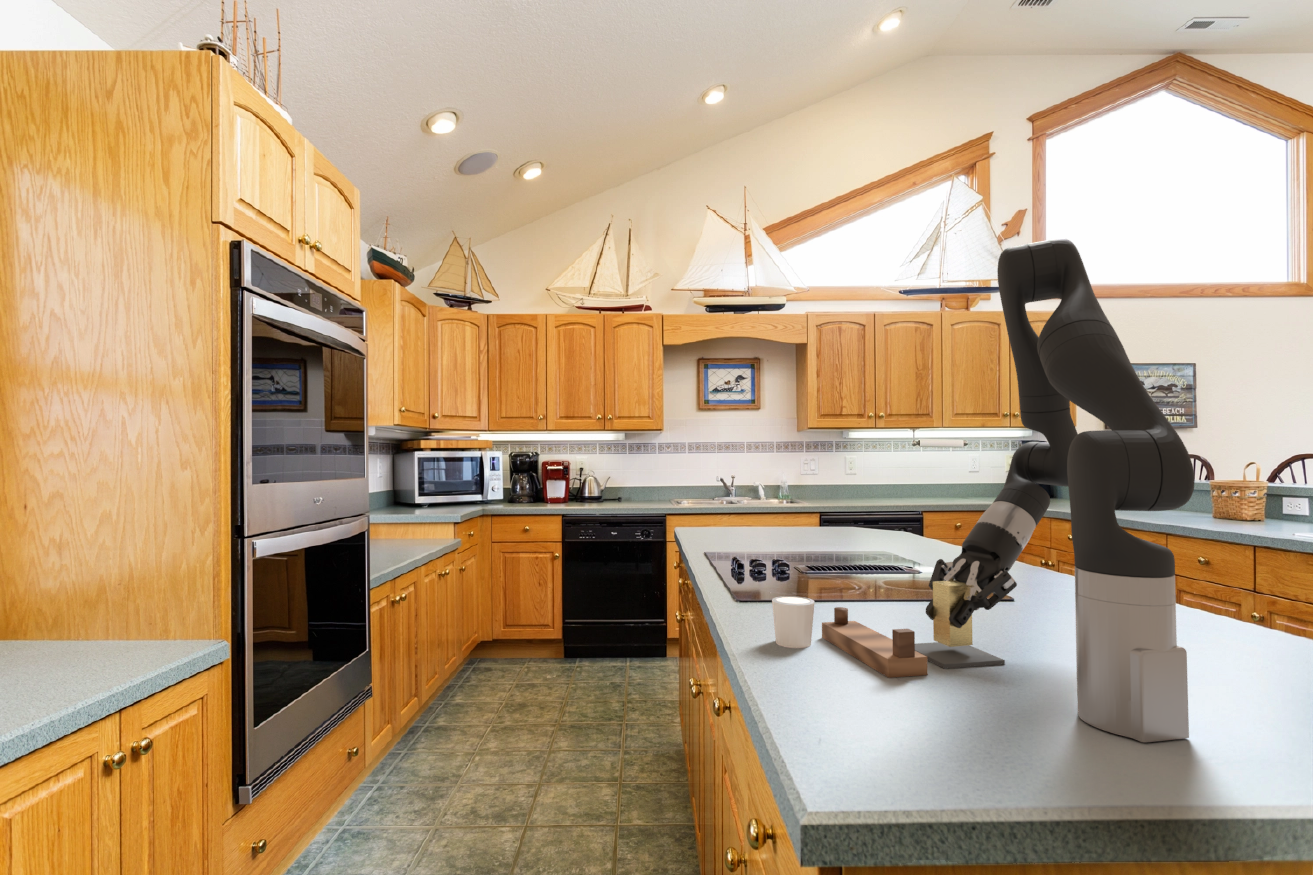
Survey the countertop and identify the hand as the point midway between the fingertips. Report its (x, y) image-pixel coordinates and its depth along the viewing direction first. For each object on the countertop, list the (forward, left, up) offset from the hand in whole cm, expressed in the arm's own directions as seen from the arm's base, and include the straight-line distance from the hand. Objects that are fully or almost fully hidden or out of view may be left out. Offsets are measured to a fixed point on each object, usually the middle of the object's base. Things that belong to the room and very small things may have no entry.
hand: (942, 620), depth 96 cm
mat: (0, -2, -6) cm, 6 cm away
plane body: (+3, +10, -6) cm, 12 cm away
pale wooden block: (0, -2, -4) cm, 4 cm away
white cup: (+11, +19, -6) cm, 23 cm away
